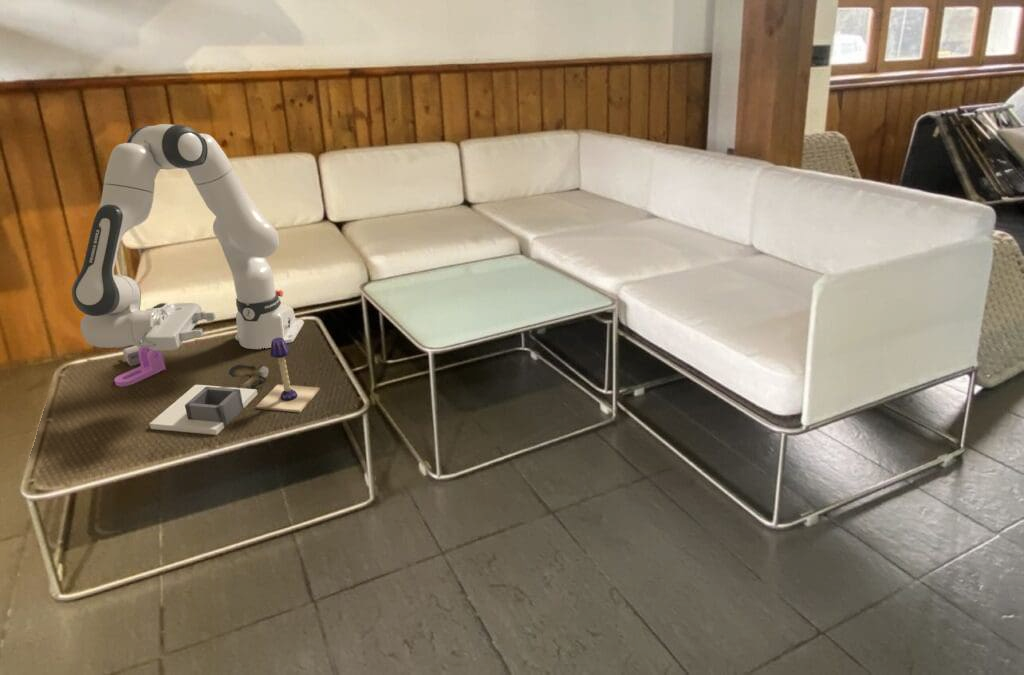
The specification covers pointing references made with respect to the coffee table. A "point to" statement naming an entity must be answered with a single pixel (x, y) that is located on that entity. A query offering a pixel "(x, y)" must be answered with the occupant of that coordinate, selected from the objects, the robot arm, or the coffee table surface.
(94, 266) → the robot arm
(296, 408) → the birch pad
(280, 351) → the toy lamp
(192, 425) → the socket board
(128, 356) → the usb wall charger
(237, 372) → the eagle figurine
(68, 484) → the coffee table surface
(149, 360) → the bracket
